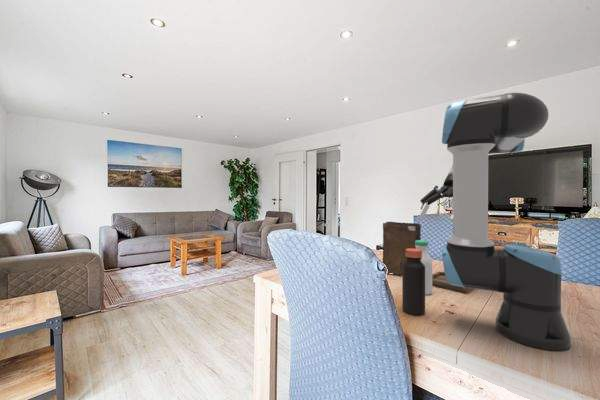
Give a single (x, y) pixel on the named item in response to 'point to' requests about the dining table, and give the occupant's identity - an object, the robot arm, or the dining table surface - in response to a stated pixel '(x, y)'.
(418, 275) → the vinegar
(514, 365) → the dining table surface
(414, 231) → the book
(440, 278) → the walnut tray
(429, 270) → the milk bottle
